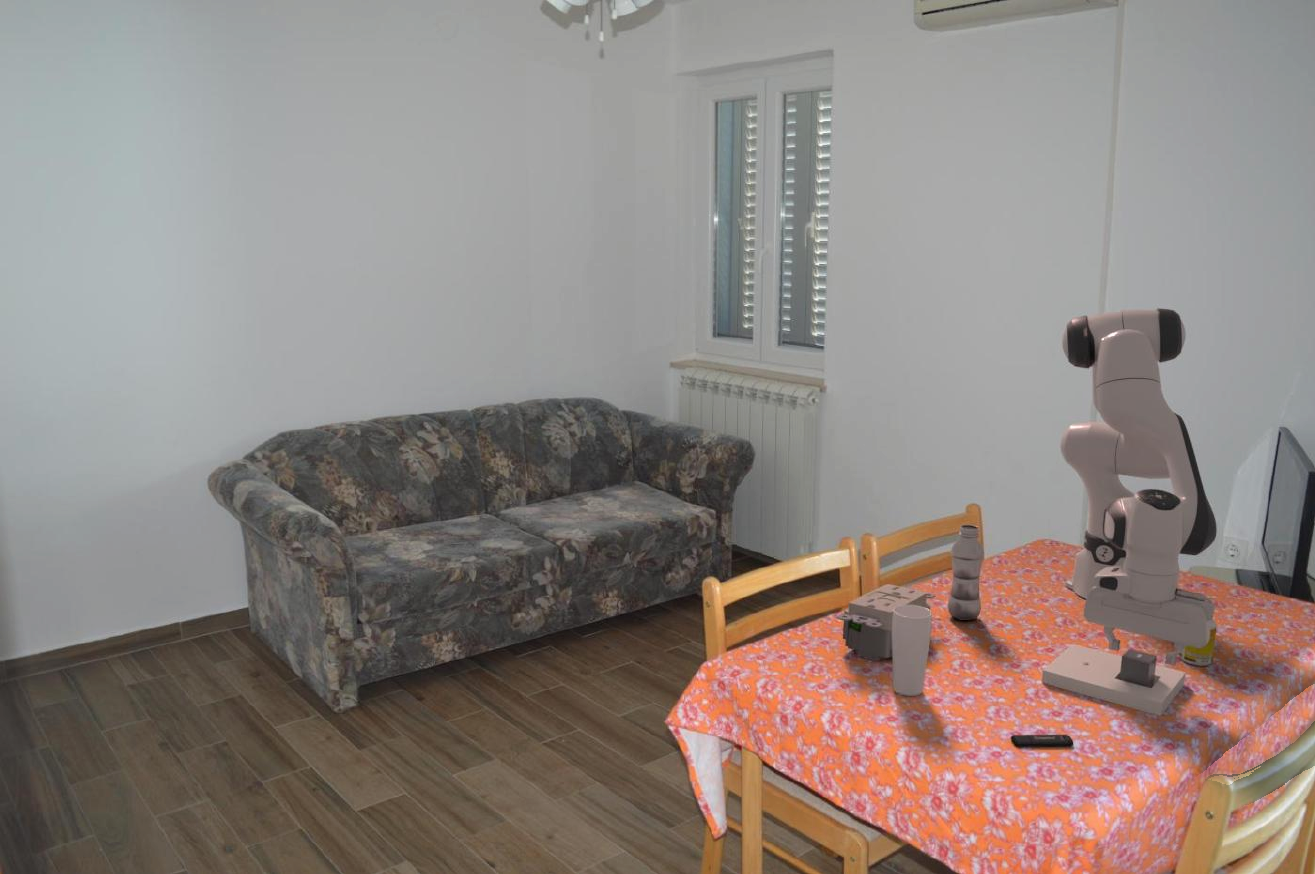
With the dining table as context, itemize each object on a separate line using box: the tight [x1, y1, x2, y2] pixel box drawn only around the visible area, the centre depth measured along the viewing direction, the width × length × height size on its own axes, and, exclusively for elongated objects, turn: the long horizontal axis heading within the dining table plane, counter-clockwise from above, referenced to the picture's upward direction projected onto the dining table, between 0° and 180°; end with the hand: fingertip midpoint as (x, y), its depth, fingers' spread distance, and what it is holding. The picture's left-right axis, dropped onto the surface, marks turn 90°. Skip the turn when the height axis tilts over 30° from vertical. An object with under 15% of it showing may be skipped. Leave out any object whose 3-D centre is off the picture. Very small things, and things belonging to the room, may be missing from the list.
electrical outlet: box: [836, 583, 936, 662], centre depth 201 cm, size 12×28×10 cm, turn 143°
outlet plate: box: [1041, 643, 1187, 717], centre depth 184 cm, size 16×20×2 cm
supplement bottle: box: [1179, 616, 1218, 667], centre depth 194 cm, size 6×6×10 cm
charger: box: [1120, 648, 1158, 688], centre depth 181 cm, size 5×5×6 cm
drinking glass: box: [891, 605, 933, 697], centre depth 180 cm, size 7×7×15 cm
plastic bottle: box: [947, 524, 985, 621], centre depth 214 cm, size 6×7×20 cm
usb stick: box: [1010, 734, 1074, 748], centre depth 163 cm, size 10×3×2 cm, turn 91°
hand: (1141, 656), depth 181 cm, fingers open, 8 cm apart
